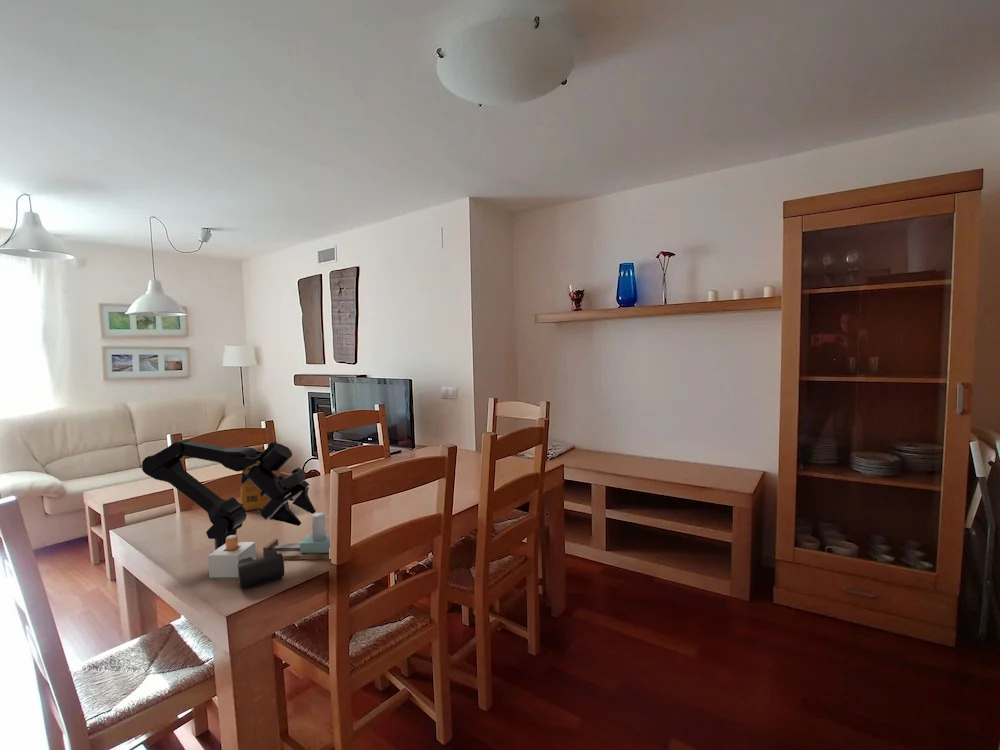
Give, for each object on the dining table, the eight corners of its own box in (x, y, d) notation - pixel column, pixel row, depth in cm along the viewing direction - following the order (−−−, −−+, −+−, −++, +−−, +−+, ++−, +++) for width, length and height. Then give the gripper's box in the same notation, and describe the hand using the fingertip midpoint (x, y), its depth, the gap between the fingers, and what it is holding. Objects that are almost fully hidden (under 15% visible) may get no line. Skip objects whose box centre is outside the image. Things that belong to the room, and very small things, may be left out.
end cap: (241, 595, 113) (239, 569, 112) (237, 583, 118) (236, 558, 118) (285, 582, 118) (284, 557, 118) (280, 572, 124) (278, 547, 124)
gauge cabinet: (209, 579, 121) (207, 555, 120) (228, 564, 129) (227, 542, 128) (239, 579, 120) (237, 555, 120) (256, 564, 128) (255, 541, 128)
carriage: (299, 552, 132) (298, 518, 131) (309, 543, 138) (307, 511, 137) (330, 552, 132) (329, 518, 131) (339, 543, 138) (337, 510, 137)
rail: (261, 559, 131) (261, 549, 131) (276, 547, 139) (275, 537, 139) (335, 559, 131) (335, 549, 130) (346, 547, 139) (345, 537, 138)
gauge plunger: (223, 551, 123) (223, 538, 123) (230, 546, 126) (229, 534, 125) (234, 551, 123) (233, 538, 122) (240, 546, 126) (239, 534, 125)
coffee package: (243, 504, 178) (240, 448, 177) (278, 500, 182) (275, 445, 181) (238, 513, 169) (234, 454, 167) (275, 508, 173) (272, 450, 172)
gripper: (268, 471, 124) (311, 510, 124) (301, 454, 143) (338, 488, 143) (242, 500, 125) (284, 539, 125) (277, 479, 143) (314, 513, 144)
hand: (307, 518), depth 134 cm, fingers open, 9 cm apart
